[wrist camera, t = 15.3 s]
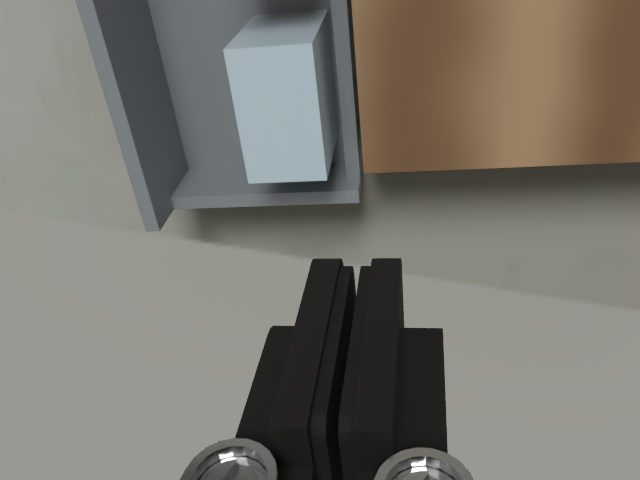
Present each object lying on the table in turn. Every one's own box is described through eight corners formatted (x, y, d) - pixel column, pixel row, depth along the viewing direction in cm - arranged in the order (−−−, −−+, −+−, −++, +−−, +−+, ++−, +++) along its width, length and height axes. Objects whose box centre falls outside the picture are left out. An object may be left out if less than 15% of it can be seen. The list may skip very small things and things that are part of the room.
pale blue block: (311, 43, 19) (223, 49, 20) (327, 180, 22) (248, 183, 23) (328, 9, 24) (254, 15, 24) (339, 128, 26) (272, 131, 27)
